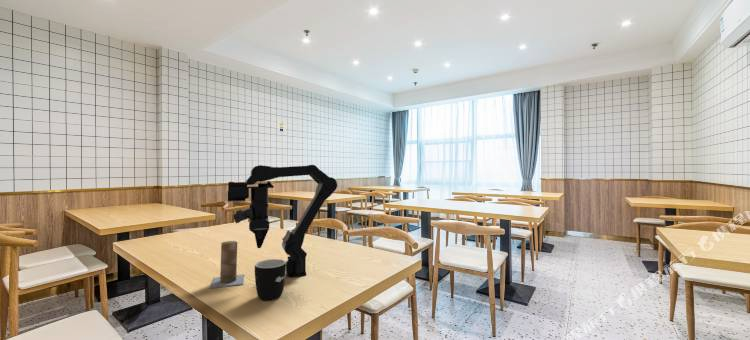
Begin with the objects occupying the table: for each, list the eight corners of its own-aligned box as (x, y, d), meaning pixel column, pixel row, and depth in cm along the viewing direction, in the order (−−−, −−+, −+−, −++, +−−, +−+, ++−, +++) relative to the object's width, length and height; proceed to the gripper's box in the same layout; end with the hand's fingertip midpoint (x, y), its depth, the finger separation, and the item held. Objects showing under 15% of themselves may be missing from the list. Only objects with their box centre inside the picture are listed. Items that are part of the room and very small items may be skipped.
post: (234, 277, 109) (235, 240, 109) (237, 281, 105) (238, 243, 105) (219, 279, 106) (220, 242, 106) (221, 284, 102) (222, 244, 102)
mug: (276, 304, 88) (276, 268, 88) (248, 301, 89) (248, 266, 90) (295, 288, 99) (295, 257, 100) (269, 286, 101) (270, 255, 101)
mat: (244, 275, 112) (244, 274, 112) (243, 284, 103) (243, 283, 103) (213, 278, 108) (213, 277, 108) (209, 288, 99) (209, 287, 99)
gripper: (236, 199, 114) (236, 241, 114) (232, 204, 97) (231, 253, 96) (268, 198, 118) (267, 238, 118) (269, 203, 100) (269, 250, 100)
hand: (259, 244), depth 108 cm, fingers open, 9 cm apart
